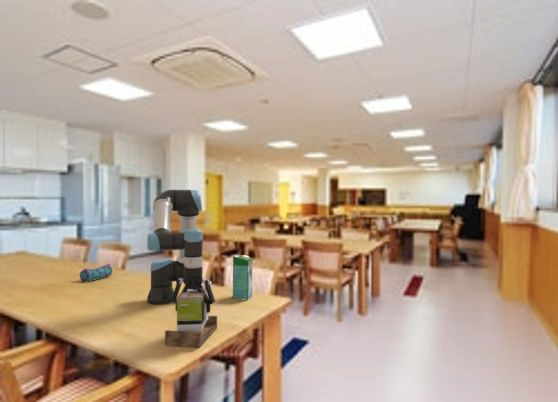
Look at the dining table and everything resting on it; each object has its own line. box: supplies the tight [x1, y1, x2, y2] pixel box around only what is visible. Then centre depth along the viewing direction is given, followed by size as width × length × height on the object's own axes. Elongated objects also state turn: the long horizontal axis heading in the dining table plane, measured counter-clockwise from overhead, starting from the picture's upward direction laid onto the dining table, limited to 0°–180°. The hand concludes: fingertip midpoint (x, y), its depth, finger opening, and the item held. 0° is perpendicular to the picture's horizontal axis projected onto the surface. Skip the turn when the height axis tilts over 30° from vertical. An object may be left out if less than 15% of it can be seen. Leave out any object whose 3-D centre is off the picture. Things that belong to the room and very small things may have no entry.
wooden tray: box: [164, 314, 218, 349], centre depth 138 cm, size 14×20×6 cm
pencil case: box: [79, 263, 113, 282], centre depth 240 cm, size 21×9×10 cm, turn 160°
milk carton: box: [232, 253, 253, 301], centre depth 195 cm, size 9×9×25 cm
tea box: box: [176, 287, 207, 333], centre depth 138 cm, size 15×10×15 cm, turn 5°
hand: (192, 319), depth 138 cm, fingers closed on tea box, 11 cm apart
